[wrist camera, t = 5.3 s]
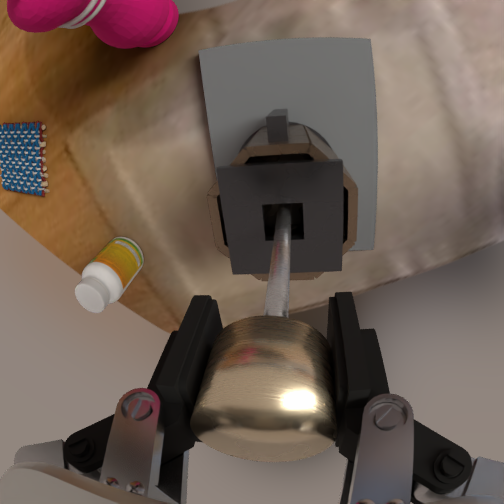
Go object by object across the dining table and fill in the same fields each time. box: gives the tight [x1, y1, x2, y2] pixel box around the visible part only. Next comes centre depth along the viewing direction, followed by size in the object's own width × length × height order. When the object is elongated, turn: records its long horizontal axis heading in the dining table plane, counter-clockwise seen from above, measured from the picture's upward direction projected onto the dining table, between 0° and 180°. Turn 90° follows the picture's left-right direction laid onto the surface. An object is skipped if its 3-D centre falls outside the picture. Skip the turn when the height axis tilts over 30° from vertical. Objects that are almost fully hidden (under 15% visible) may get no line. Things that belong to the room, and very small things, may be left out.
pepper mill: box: [7, 0, 179, 49], centre depth 15 cm, size 7×7×20 cm
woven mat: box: [0, 121, 49, 197], centre depth 32 cm, size 10×11×2 cm
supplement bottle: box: [75, 237, 144, 313], centre depth 33 cm, size 5×5×10 cm
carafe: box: [207, 109, 358, 281], centre depth 23 cm, size 10×11×12 cm
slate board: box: [199, 38, 378, 251], centre depth 28 cm, size 16×22×1 cm
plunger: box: [190, 153, 337, 462], centre depth 16 cm, size 7×7×21 cm
